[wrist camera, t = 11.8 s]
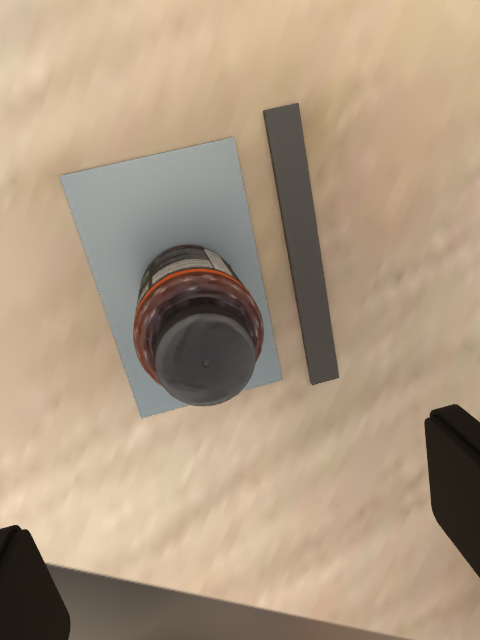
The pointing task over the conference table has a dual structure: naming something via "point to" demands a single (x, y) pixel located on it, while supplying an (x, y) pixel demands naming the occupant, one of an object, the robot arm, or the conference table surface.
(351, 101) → the conference table surface
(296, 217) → the bar
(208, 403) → the supplement bottle
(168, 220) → the pad
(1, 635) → the robot arm
